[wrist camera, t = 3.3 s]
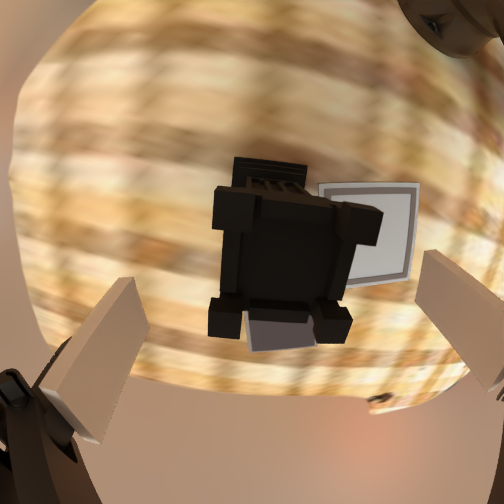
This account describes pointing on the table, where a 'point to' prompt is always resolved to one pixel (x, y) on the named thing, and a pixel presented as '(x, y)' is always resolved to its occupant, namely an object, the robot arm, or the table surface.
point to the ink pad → (278, 335)
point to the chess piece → (285, 251)
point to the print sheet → (381, 229)
